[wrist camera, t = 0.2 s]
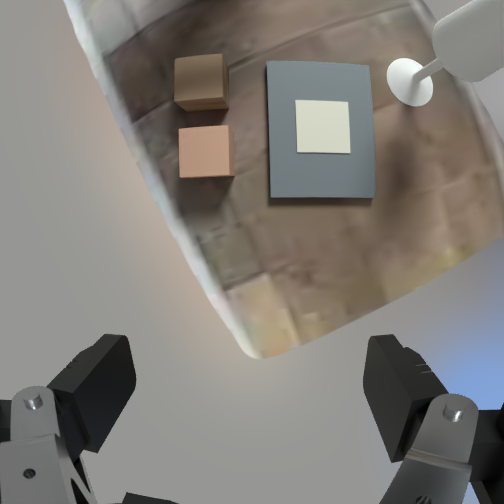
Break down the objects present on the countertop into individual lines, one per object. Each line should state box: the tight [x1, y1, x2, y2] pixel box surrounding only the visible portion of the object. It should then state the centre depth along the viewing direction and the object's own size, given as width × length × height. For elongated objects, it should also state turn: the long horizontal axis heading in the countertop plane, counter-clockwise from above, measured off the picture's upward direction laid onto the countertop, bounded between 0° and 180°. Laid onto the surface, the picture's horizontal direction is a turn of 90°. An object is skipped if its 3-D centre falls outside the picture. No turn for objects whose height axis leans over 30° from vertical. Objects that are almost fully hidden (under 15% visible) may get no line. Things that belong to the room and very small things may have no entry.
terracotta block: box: [179, 125, 235, 178], centre depth 34 cm, size 5×5×6 cm
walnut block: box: [174, 53, 229, 112], centre depth 32 cm, size 5×5×6 cm
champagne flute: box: [387, 0, 504, 107], centre depth 21 cm, size 7×7×24 cm
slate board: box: [267, 61, 375, 198], centre depth 34 cm, size 16×12×1 cm
